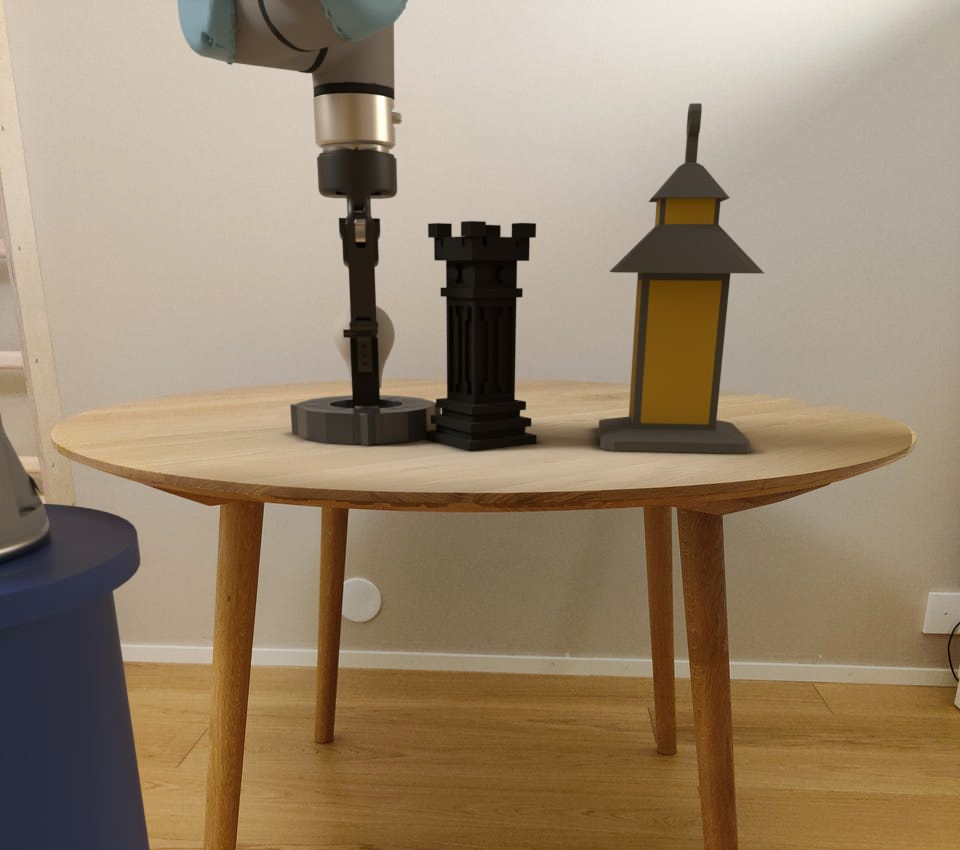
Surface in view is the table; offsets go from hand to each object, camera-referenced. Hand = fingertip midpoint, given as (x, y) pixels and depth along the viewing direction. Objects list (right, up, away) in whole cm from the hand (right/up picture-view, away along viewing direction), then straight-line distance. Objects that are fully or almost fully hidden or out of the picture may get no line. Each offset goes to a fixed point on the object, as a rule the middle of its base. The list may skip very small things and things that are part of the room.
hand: (366, 400), depth 99 cm
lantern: (+31, -5, -2) cm, 31 cm away
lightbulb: (0, -1, +1) cm, 2 cm away
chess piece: (+12, -5, -3) cm, 13 cm away
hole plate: (0, -3, +1) cm, 3 cm away
